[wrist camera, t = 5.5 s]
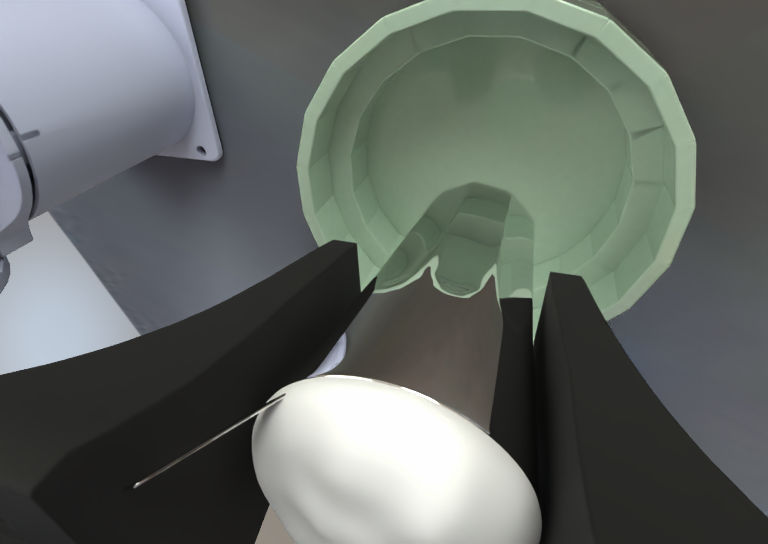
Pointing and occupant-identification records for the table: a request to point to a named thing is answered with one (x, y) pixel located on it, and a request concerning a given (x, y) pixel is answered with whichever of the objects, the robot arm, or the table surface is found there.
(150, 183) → the table surface
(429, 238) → the milkshake
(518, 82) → the bowl
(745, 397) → the table surface
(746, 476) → the table surface
